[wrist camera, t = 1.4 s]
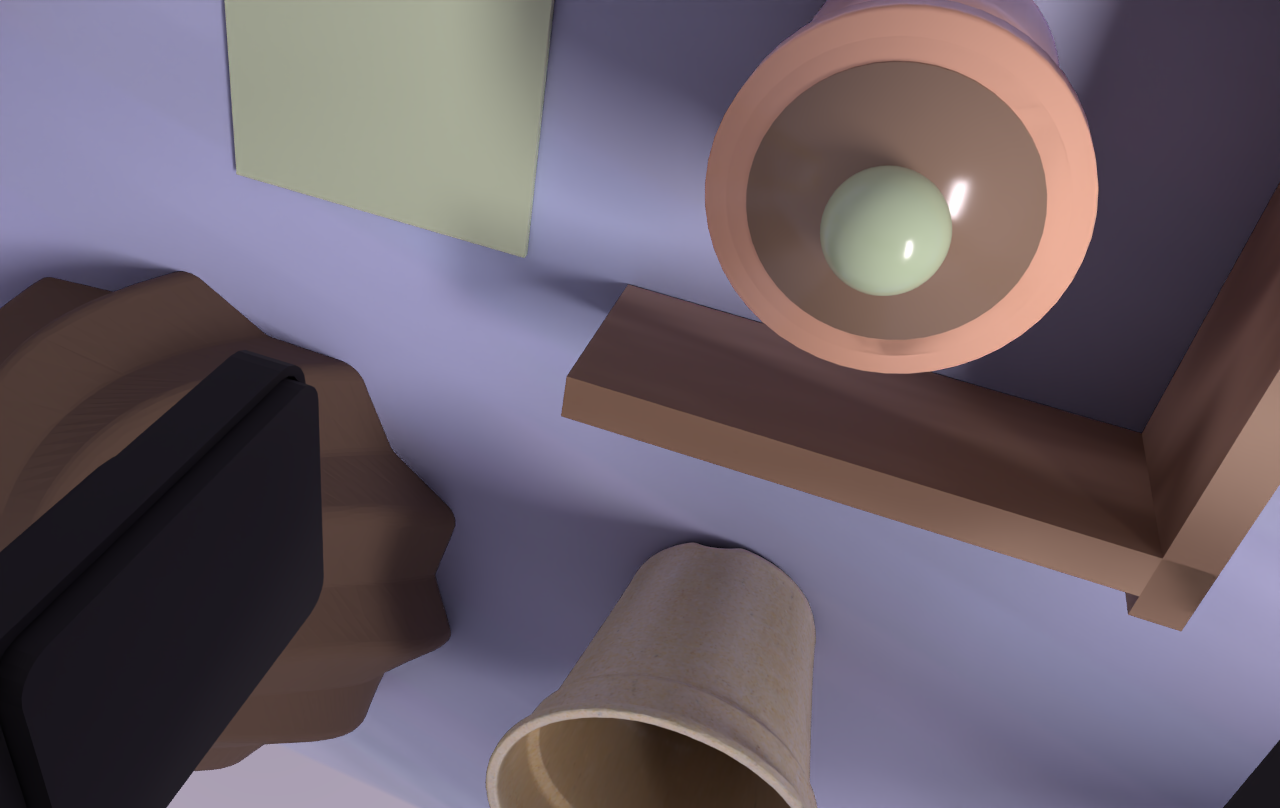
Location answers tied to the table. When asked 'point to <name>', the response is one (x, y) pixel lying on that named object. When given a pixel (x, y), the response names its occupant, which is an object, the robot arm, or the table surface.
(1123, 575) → the brown wooden corner frame
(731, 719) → the flower pot
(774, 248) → the seedling pot
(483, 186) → the green mat
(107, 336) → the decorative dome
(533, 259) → the table surface
